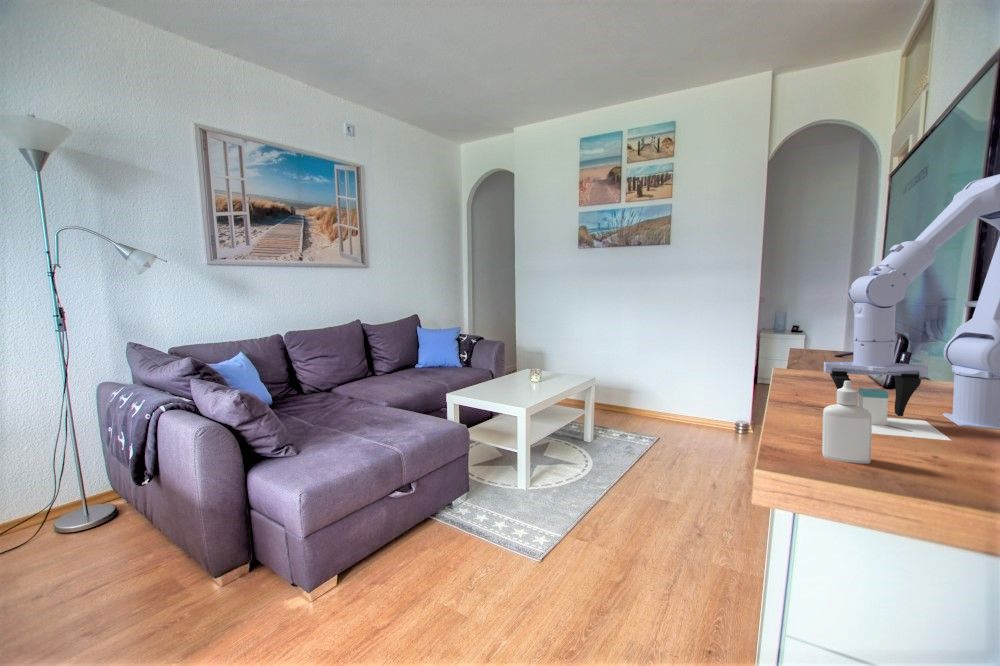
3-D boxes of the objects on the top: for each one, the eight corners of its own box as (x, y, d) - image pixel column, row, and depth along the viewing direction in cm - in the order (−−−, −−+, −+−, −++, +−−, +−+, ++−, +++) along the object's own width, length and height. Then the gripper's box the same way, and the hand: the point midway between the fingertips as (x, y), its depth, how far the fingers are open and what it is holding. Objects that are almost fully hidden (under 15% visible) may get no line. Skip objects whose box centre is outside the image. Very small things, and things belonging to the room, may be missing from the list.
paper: (925, 422, 81) (925, 420, 81) (951, 442, 70) (951, 440, 70) (843, 416, 87) (843, 414, 87) (857, 433, 76) (857, 431, 76)
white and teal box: (882, 420, 82) (882, 388, 81) (887, 425, 79) (888, 392, 78) (857, 418, 84) (858, 387, 83) (862, 423, 80) (862, 391, 80)
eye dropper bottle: (861, 469, 62) (863, 386, 61) (817, 457, 67) (818, 380, 66) (875, 462, 64) (877, 382, 63) (831, 451, 69) (833, 376, 68)
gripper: (828, 342, 80) (827, 414, 81) (935, 343, 73) (932, 422, 74) (822, 338, 86) (821, 405, 87) (920, 339, 79) (918, 412, 80)
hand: (871, 412), depth 81 cm, fingers open, 7 cm apart
